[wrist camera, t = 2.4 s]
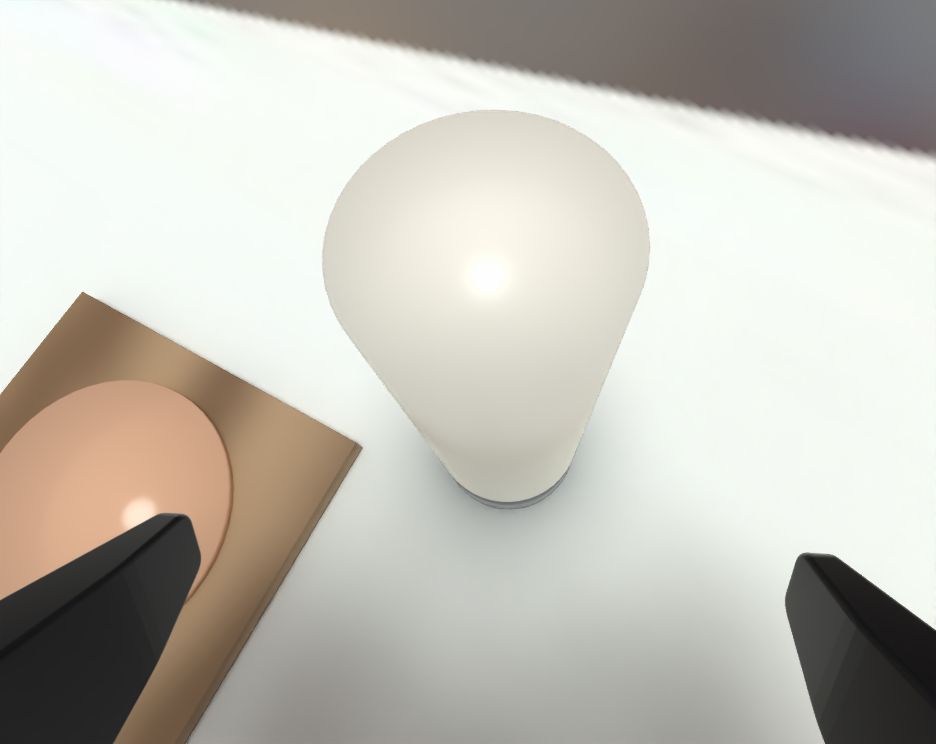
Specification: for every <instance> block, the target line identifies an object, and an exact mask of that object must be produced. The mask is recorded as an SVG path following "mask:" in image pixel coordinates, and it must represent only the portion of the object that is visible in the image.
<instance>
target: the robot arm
mask: <svg viewBox="0 0 936 744" xmlns="http://www.w3.org/2000/svg"><path fill="white" fill-rule="evenodd" d="M200 564H201V551H200V548H199V545H198V541H197V538H196V534H195V531H194V528H193V524H192V521H191V519H190V518H189V517H188V516H187V515H185V514H179V513H160V514H157V515H155V516H153V517H151V518H150V519H148V520H146V521H144V522H142V523H140V524H139V525H137V526H135V527H133V528H131V529H129V530H128V531H126V532H124V533H122V534H120V535H118V536H117V537H115V538H113V539H111V540H109V541H107V542H105V543H104V544H102V545H100V546H98V547H96V548H94V549H93V550H91V551H89V552H87V553H85V554H83V555H82V556H80V557H78V558H76V559H74V560H72V561H71V562H69V563H67V564H65V565H63V566H61V567H59V568H58V569H56V570H54V571H52V572H50V573H48V574H47V575H45V576H43V577H41V578H39V579H37V580H36V581H34V582H32V583H30V584H28V585H26V586H25V587H23V588H21V589H19V590H17V591H15V592H13V593H12V594H10V595H8V596H6V597H4V598H2V599H1V600H0V744H114V742H115V740H116V738H117V736H118V735H119V733H120V731H121V729H122V727H123V726H124V724H125V722H126V720H127V718H128V717H129V715H130V713H131V711H132V709H133V708H134V706H135V704H136V702H137V700H138V699H139V697H140V695H141V693H142V691H143V690H144V688H145V686H146V684H147V682H148V681H149V679H150V677H151V675H152V673H153V671H154V669H155V667H156V665H157V664H158V661H159V659H160V657H161V655H162V653H163V651H164V649H165V647H166V644H167V642H168V640H169V638H170V635H171V633H172V631H173V628H174V626H175V624H176V621H177V619H178V617H179V615H180V612H181V610H182V608H183V605H184V603H185V601H186V599H187V596H188V594H189V592H190V589H191V587H192V585H193V583H194V580H195V578H196V576H197V573H198V571H199V568H200ZM785 607H786V613H787V617H788V620H789V624H790V628H791V631H792V635H793V638H794V642H795V646H796V649H797V653H798V656H799V660H800V664H801V667H802V671H803V674H804V678H805V682H806V685H807V689H808V692H809V696H810V700H811V703H812V707H813V710H814V713H815V717H816V720H817V723H818V726H819V729H820V731H821V734H822V737H823V740H824V742H825V744H936V630H935V629H933V628H932V627H931V626H929V625H928V624H927V623H925V622H924V621H923V620H921V619H920V618H919V617H917V616H916V615H915V614H913V613H912V612H911V611H909V610H908V609H906V608H905V607H904V606H902V605H901V604H900V603H898V602H897V601H896V600H894V599H893V598H892V597H890V596H889V595H888V594H886V593H885V592H884V591H882V590H881V589H879V588H878V587H877V586H875V585H874V584H873V583H871V582H870V581H869V580H867V579H866V578H865V577H863V576H862V575H861V574H859V573H858V572H857V571H855V570H854V569H852V568H851V567H850V566H848V565H847V564H846V563H844V562H843V561H842V560H840V559H839V558H837V557H836V556H834V555H830V554H820V553H803V554H801V555H799V557H798V558H797V560H796V563H795V566H794V569H793V573H792V576H791V579H790V582H789V586H788V589H787V592H786V597H785Z"/></svg>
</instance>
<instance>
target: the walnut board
mask: <svg viewBox="0 0 936 744" xmlns="http://www.w3.org/2000/svg"><path fill="white" fill-rule="evenodd" d="M120 380H133V381H143V382H149V383H154V384H157V385H160V386H164V387H166V388H168V389H171V390H173V391H175V392H177V393H179V394H181V395H183V396H185V397H186V398H188V399H189V400H190V401H192V402H193V403H195V404H196V405H197V406H198V407H200V408H201V409H202V410H203V411H204V412H205V413H206V414H207V415H208V417H209V418H210V419H211V420H212V422H213V423H214V424H215V426H216V427H217V429H218V431H219V433H220V434H221V436H222V438H223V440H224V443H225V445H226V448H227V451H228V454H229V458H230V462H231V467H232V474H233V487H234V488H233V506H232V512H231V517H230V523H229V526H228V530H227V533H226V537H225V540H224V543H223V545H222V547H221V550H220V552H219V555H218V557H217V559H216V561H215V563H214V565H213V566H212V568H211V570H210V572H209V573H208V575H207V577H206V578H205V580H204V581H203V583H202V584H201V585H200V587H199V588H198V590H197V591H196V592H195V594H194V595H193V596H192V597H191V598H190V599H189V600H188V601H187V603H186V604H185V605H184V606H183V608H182V610H181V612H180V615H179V617H178V619H177V621H176V624H175V626H174V628H173V631H172V633H171V635H170V638H169V640H168V642H167V644H166V647H165V649H164V651H163V653H162V655H161V657H160V659H159V661H158V664H157V665H156V667H155V669H154V671H153V673H152V675H151V677H150V679H149V681H148V682H147V684H146V686H145V688H144V690H143V691H142V693H141V695H140V697H139V699H138V700H137V702H136V704H135V706H134V708H133V709H132V711H131V713H130V715H129V717H128V718H127V720H126V722H125V724H124V726H123V727H122V729H121V731H120V733H119V735H118V736H117V738H116V740H115V742H114V744H185V742H186V741H187V739H188V737H189V736H190V734H191V732H192V731H193V729H194V727H195V726H196V724H197V722H198V721H199V719H200V717H201V716H202V714H203V712H204V711H205V709H206V707H207V706H208V704H209V702H210V701H211V699H212V697H213V696H214V694H215V692H216V691H217V689H218V687H219V686H220V684H221V682H222V681H223V679H224V677H225V676H226V674H227V672H228V671H229V669H230V667H231V666H232V664H233V662H234V661H235V659H236V657H237V656H238V654H239V652H240V651H241V649H242V647H243V646H244V644H245V642H246V641H247V639H248V637H249V636H250V634H251V632H252V631H253V629H254V627H255V626H256V624H257V622H258V621H259V619H260V617H261V616H262V614H263V612H264V611H265V609H266V607H267V606H268V604H269V602H270V601H271V599H272V597H273V596H274V594H275V592H276V591H277V589H278V587H279V586H280V584H281V582H282V581H283V579H284V577H285V576H286V574H287V572H288V571H289V569H290V567H291V565H292V564H293V562H294V560H295V559H296V557H297V555H298V554H299V552H300V550H301V549H302V547H303V545H304V544H305V542H306V540H307V539H308V537H309V535H310V534H311V532H312V530H313V529H314V527H315V525H316V524H317V522H318V520H319V519H320V517H321V515H322V514H323V512H324V510H325V509H326V507H327V505H328V504H329V502H330V500H331V499H332V497H333V495H334V494H335V492H336V490H337V489H338V487H339V485H340V484H341V482H342V480H343V479H344V477H345V475H346V474H347V472H348V470H349V469H350V467H351V465H352V464H353V462H354V460H355V459H356V457H357V455H358V454H359V452H360V450H361V449H362V447H361V446H360V445H358V444H357V443H356V442H354V441H352V440H350V439H348V438H347V437H345V436H343V435H341V434H339V433H338V432H336V431H334V430H332V429H330V428H329V427H327V426H325V425H323V424H321V423H320V422H318V421H316V420H314V419H312V418H310V417H309V416H307V415H305V414H303V413H301V412H300V411H298V410H296V409H294V408H292V407H291V406H289V405H287V404H285V403H283V402H281V401H280V400H278V399H276V398H274V397H272V396H271V395H269V394H267V393H265V392H263V391H262V390H260V389H258V388H256V387H254V386H252V385H251V384H249V383H247V382H245V381H243V380H242V379H240V378H238V377H236V376H234V375H233V374H231V373H229V372H227V371H225V370H223V369H222V368H220V367H218V366H216V365H214V364H213V363H211V362H209V361H207V360H205V359H204V358H202V357H200V356H198V355H196V354H194V353H193V352H191V351H189V350H187V349H185V348H184V347H182V346H180V345H178V344H176V343H175V342H173V341H171V340H169V339H167V338H165V337H164V336H162V335H160V334H158V333H156V332H155V331H153V330H151V329H149V328H147V327H146V326H144V325H142V324H140V323H138V322H136V321H135V320H133V319H131V318H129V317H127V316H126V315H124V314H122V313H120V312H118V311H117V310H115V309H113V308H111V307H109V306H107V305H106V304H104V303H102V302H100V301H98V300H97V299H95V298H93V297H91V296H89V295H88V294H86V293H84V292H82V293H81V294H80V295H79V297H78V298H77V299H76V300H75V302H74V303H73V304H72V305H71V307H70V308H69V309H68V310H67V312H66V313H65V314H64V315H63V317H62V318H61V319H60V320H59V322H58V323H57V324H56V325H55V327H54V328H53V329H52V330H51V332H50V333H49V334H48V335H47V337H46V338H45V339H44V340H43V342H42V343H41V344H40V345H39V347H38V348H37V349H36V351H35V352H34V353H33V354H32V356H31V357H30V358H29V359H28V361H27V362H26V363H25V364H24V366H23V367H22V368H21V369H20V371H19V372H18V373H17V374H16V376H15V377H14V378H13V379H12V381H11V382H10V383H9V384H8V386H7V387H6V388H5V389H4V391H3V392H2V393H1V394H0V453H1V452H2V450H3V449H4V447H5V446H6V445H7V444H8V443H9V441H10V440H11V439H12V438H13V437H14V436H15V434H16V433H17V432H18V431H19V430H20V429H21V428H22V427H23V426H24V425H25V424H26V423H27V422H29V421H30V420H31V419H32V418H33V417H34V416H36V415H37V414H38V413H40V412H41V411H42V410H43V409H45V408H46V407H48V406H49V405H51V404H53V403H54V402H56V401H57V400H59V399H61V398H63V397H65V396H67V395H69V394H71V393H73V392H75V391H78V390H80V389H83V388H86V387H89V386H92V385H96V384H100V383H104V382H111V381H120Z"/></svg>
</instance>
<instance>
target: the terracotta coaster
mask: <svg viewBox="0 0 936 744" xmlns="http://www.w3.org/2000/svg"><path fill="white" fill-rule="evenodd" d="M233 488H234V487H233V474H232V467H231V462H230V458H229V454H228V451H227V448H226V445H225V443H224V440H223V438H222V436H221V434H220V433H219V431H218V429H217V427H216V426H215V424H214V423H213V422H212V420H211V419H210V418H209V417H208V415H207V414H206V413H205V412H204V411H203V410H202V409H201V408H200V407H198V406H197V405H196V404H195V403H193V402H192V401H190V400H189V399H188V398H186V397H185V396H183V395H181V394H179V393H177V392H175V391H173V390H171V389H168V388H166V387H164V386H160V385H157V384H154V383H149V382H143V381H133V380H120V381H111V382H104V383H100V384H96V385H92V386H89V387H86V388H83V389H80V390H78V391H75V392H73V393H71V394H69V395H67V396H65V397H63V398H61V399H59V400H57V401H56V402H54V403H53V404H51V405H49V406H48V407H46V408H45V409H43V410H42V411H41V412H40V413H38V414H37V415H36V416H34V417H33V418H32V419H31V420H30V421H29V422H27V423H26V424H25V425H24V426H23V427H22V428H21V429H20V430H19V431H18V432H17V433H16V434H15V436H14V437H13V438H12V439H11V440H10V441H9V443H8V444H7V445H6V446H5V447H4V449H3V450H2V452H1V453H0V600H1V599H2V598H4V597H6V596H8V595H10V594H12V593H13V592H15V591H17V590H19V589H21V588H23V587H25V586H26V585H28V584H30V583H32V582H34V581H36V580H37V579H39V578H41V577H43V576H45V575H47V574H48V573H50V572H52V571H54V570H56V569H58V568H59V567H61V566H63V565H65V564H67V563H69V562H71V561H72V560H74V559H76V558H78V557H80V556H82V555H83V554H85V553H87V552H89V551H91V550H93V549H94V548H96V547H98V546H100V545H102V544H104V543H105V542H107V541H109V540H111V539H113V538H115V537H117V536H118V535H120V534H122V533H124V532H126V531H128V530H129V529H131V528H133V527H135V526H137V525H139V524H140V523H142V522H144V521H146V520H148V519H150V518H151V517H153V516H155V515H157V514H160V513H179V514H185V515H187V516H188V517H189V518H190V519H191V521H192V524H193V528H194V531H195V534H196V538H197V541H198V545H199V548H200V551H201V564H200V568H199V571H198V573H197V576H196V578H195V580H194V583H193V585H192V587H191V589H190V592H189V594H188V596H187V599H186V601H185V603H184V605H185V604H186V603H187V601H188V600H189V599H190V598H191V597H192V596H193V595H194V594H195V592H196V591H197V590H198V588H199V587H200V585H201V584H202V583H203V581H204V580H205V578H206V577H207V575H208V573H209V572H210V570H211V568H212V566H213V565H214V563H215V561H216V559H217V557H218V555H219V552H220V550H221V547H222V545H223V543H224V540H225V537H226V533H227V530H228V526H229V523H230V517H231V512H232V506H233ZM184 605H183V606H184Z"/></svg>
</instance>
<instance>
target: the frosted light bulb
mask: <svg viewBox="0 0 936 744" xmlns="http://www.w3.org/2000/svg"><path fill="white" fill-rule="evenodd" d="M649 253H650V241H649V228H648V223H647V219H646V214H645V210H644V207H643V205H642V202H641V200H640V197H639V195H638V192H637V191H636V189H635V187H634V185H633V184H632V182H631V180H630V178H629V177H628V175H627V174H626V173H625V171H624V170H623V169H622V167H621V166H620V165H619V164H618V162H617V161H616V160H615V159H614V158H613V157H612V156H611V155H610V154H609V153H608V152H607V151H606V150H605V149H604V148H602V147H601V146H600V145H598V144H597V143H596V142H594V141H593V140H592V139H590V138H589V137H587V136H586V135H584V134H582V133H580V132H579V131H577V130H575V129H573V128H571V127H569V126H567V125H564V124H562V123H560V122H557V121H555V120H552V119H549V118H545V117H542V116H538V115H535V114H529V113H524V112H518V111H506V110H480V111H471V112H464V113H457V114H453V115H449V116H445V117H441V118H438V119H435V120H432V121H429V122H427V123H424V124H421V125H419V126H417V127H415V128H413V129H411V130H409V131H407V132H405V133H403V134H401V135H400V136H398V137H396V138H395V139H393V140H392V141H390V142H388V143H387V144H386V145H384V146H383V147H382V148H380V149H379V150H378V151H377V152H375V153H374V154H373V155H372V156H371V157H370V158H369V159H368V160H367V161H366V162H365V163H364V164H363V165H362V166H361V167H360V168H359V169H358V170H357V171H356V173H355V174H354V175H353V176H352V178H351V179H350V180H349V181H348V183H347V184H346V186H345V188H344V189H343V191H342V192H341V194H340V196H339V197H338V199H337V201H336V204H335V206H334V208H333V210H332V213H331V215H330V218H329V222H328V225H327V228H326V232H325V237H324V244H323V276H324V283H325V289H326V292H327V295H328V298H329V302H330V305H331V307H332V309H333V311H334V313H335V316H336V318H337V320H338V322H339V324H340V325H341V327H342V328H343V329H344V331H345V332H346V334H347V335H348V337H349V338H350V340H351V341H352V342H353V344H354V345H355V346H356V348H357V349H358V350H359V352H360V353H361V354H362V356H363V357H364V358H365V360H366V361H367V362H368V364H369V365H370V366H371V368H372V369H373V371H374V372H375V373H376V375H377V376H378V377H379V379H380V380H381V381H382V383H383V384H384V385H385V387H386V388H387V389H388V391H389V392H390V393H391V395H392V396H393V397H394V399H395V400H396V401H397V403H398V404H399V405H400V407H401V408H402V409H403V411H404V412H405V413H406V415H407V416H408V417H409V419H410V420H411V421H412V423H413V424H414V426H415V427H416V428H417V430H418V431H419V432H420V434H421V435H422V436H423V438H424V439H425V440H426V442H427V443H428V444H429V446H430V447H431V448H432V450H433V451H434V452H435V454H436V455H437V456H438V458H439V459H440V460H441V462H442V463H443V464H444V466H445V467H446V468H447V470H448V471H449V472H450V474H451V475H452V476H453V478H454V479H455V481H456V482H457V483H458V485H459V486H460V487H461V488H462V489H463V490H464V491H465V492H466V493H467V494H468V495H470V496H471V497H472V498H474V499H476V500H477V501H479V502H481V503H483V504H485V505H488V506H491V507H495V508H501V509H517V508H523V507H527V506H530V505H533V504H535V503H537V502H539V501H541V500H543V499H545V498H546V497H547V496H549V495H550V494H551V493H552V492H553V491H554V490H555V489H556V488H557V487H558V486H559V485H560V483H561V482H562V481H563V479H564V477H565V475H566V474H567V471H568V469H569V466H570V464H571V462H572V459H573V457H574V454H575V452H576V449H577V447H578V445H579V442H580V440H581V437H582V435H583V432H584V430H585V428H586V425H587V423H588V420H589V418H590V415H591V413H592V411H593V408H594V406H595V403H596V401H597V398H598V396H599V394H600V391H601V389H602V386H603V384H604V381H605V379H606V377H607V374H608V372H609V369H610V367H611V364H612V362H613V360H614V357H615V355H616V352H617V350H618V348H619V345H620V343H621V340H622V338H623V335H624V333H625V331H626V328H627V326H628V323H629V321H630V318H631V316H632V314H633V311H634V309H635V306H636V304H637V301H638V299H639V297H640V294H641V292H642V289H643V287H644V283H645V279H646V275H647V271H648V265H649Z"/></svg>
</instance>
